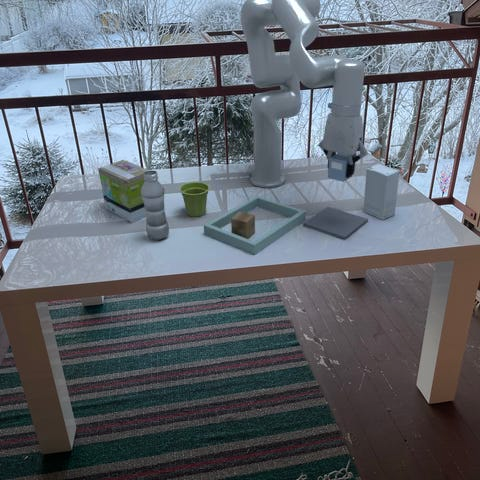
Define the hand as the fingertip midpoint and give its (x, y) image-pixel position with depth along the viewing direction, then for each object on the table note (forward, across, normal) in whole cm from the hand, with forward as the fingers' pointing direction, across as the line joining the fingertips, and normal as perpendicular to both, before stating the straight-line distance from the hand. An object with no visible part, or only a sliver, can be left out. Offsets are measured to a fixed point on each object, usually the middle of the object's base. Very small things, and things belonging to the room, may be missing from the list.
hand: (340, 173), depth 134 cm
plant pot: (+16, -39, -20) cm, 47 cm away
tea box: (+16, -57, -32) cm, 68 cm away
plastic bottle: (+16, -37, -38) cm, 56 cm away
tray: (+16, -18, -16) cm, 29 cm away
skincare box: (+17, +7, +14) cm, 23 cm away
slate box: (+1, 0, 0) cm, 1 cm away
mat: (+16, 0, 0) cm, 16 cm away
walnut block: (+16, -18, -22) cm, 33 cm away
